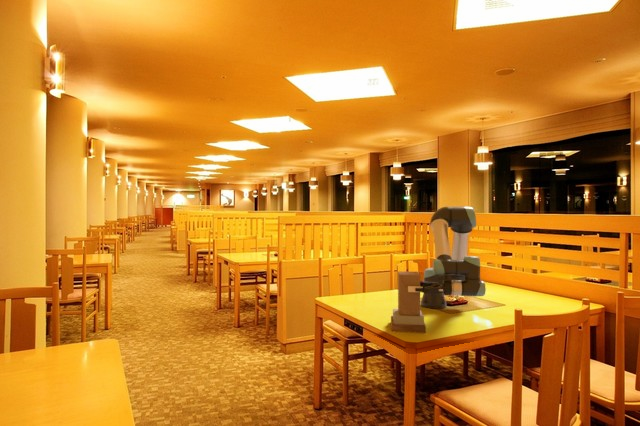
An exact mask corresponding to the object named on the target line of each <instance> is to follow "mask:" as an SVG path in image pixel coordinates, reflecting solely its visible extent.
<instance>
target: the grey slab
mask: <svg viewBox="0 0 640 426" xmlns="http://www.w3.org/2000/svg"><path fill="white" fill-rule="evenodd" d="M392 316H393V320H394V324H404V325H424V323H425V317H424V316H425V315H424V314H423V312H422V310H421V309H420V315H419V316H418V315H400V314H399V311H398V308H393V309H392Z"/></svg>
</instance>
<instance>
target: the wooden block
mask: <svg viewBox="0 0 640 426" xmlns="http://www.w3.org/2000/svg"><path fill="white" fill-rule="evenodd" d="M420 281H421V274H420V272H418V271H404V270H403V271H398V272H397V309H398V311H399V314H400V315H418V316H419V315H420V310H421V292H408V286H420Z"/></svg>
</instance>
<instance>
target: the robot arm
mask: <svg viewBox="0 0 640 426" xmlns="http://www.w3.org/2000/svg"><path fill="white" fill-rule="evenodd" d="M475 211H476V210H475V209H474V208H473V207H472V206H443V207H440V208H439V209H437V210H436V211H435V212H434V213H433V214H432V215H431V218H430V221H429V223H430V229H431V231H432V233H433V241H434V242H433V243H434V252H435V253H434V254H435V259H433V261H432V267H429V268H426V269H424V272H423V280H420V286H408V292H420V293H422V297H421V298H420V307H422V308H428V309H444V308H447V301H446V298H445V296H448V297H449V296H454V297H455V296H456V298H457V297H458V298H459V296H461V297H484V296H485V295H486V290H487V288H486V283H485V281H484V280H481V266H482V265H481V258H480V257H479V256H477V255H476V256H475V255H468V248H469V237H470V234H471V233H472V232H473V229H474V228H476V227H477V218H476V212H475ZM449 228H450V231H452V233H453V234H452V246H450V245H451V243H450V240H449V239H450V238H449V232H448V229H449Z"/></svg>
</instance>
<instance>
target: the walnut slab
mask: <svg viewBox="0 0 640 426" xmlns="http://www.w3.org/2000/svg"><path fill="white" fill-rule="evenodd" d="M426 327H427V326H426V323H425V322H424V325H404V324H394V320H393V315H391V316H390V328H391V332H393V331H394V332H395V333H396V332H398V333H399V332H400V333H416V334H417V333H421V334H426V331H427V329H426Z"/></svg>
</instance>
